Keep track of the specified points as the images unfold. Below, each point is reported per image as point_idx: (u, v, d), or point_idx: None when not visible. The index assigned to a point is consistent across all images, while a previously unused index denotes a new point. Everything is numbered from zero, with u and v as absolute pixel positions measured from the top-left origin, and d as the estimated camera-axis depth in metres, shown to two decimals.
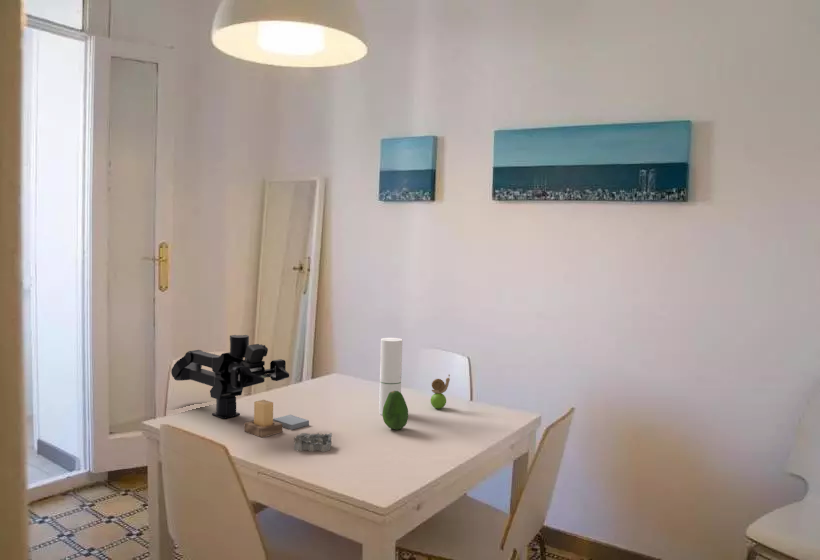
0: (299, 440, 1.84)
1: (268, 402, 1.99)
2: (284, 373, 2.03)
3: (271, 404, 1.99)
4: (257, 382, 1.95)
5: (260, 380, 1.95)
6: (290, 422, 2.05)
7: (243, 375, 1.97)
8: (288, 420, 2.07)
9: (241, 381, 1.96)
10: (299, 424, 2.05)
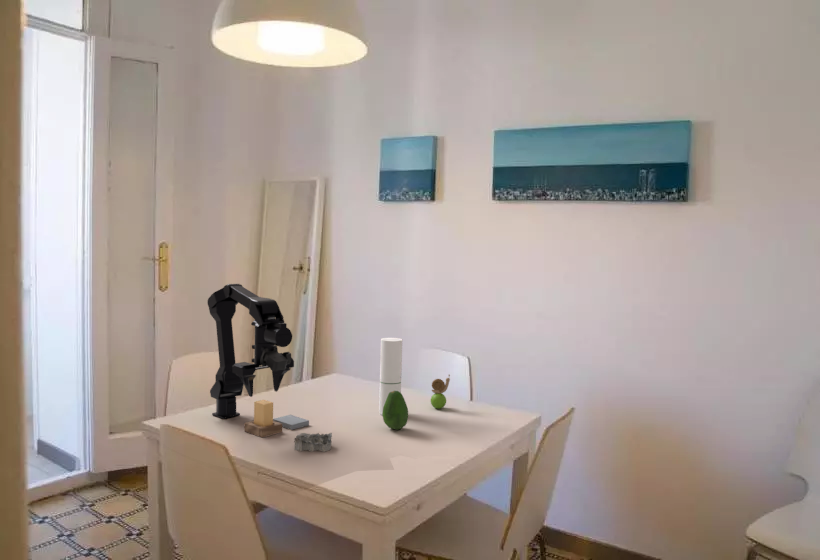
0: (299, 440, 1.84)
1: (268, 402, 1.99)
2: (276, 385, 2.02)
3: (271, 404, 1.99)
4: (247, 389, 1.95)
5: (249, 393, 1.95)
6: (290, 422, 2.05)
7: None
8: (288, 420, 2.07)
9: None
10: (299, 424, 2.05)
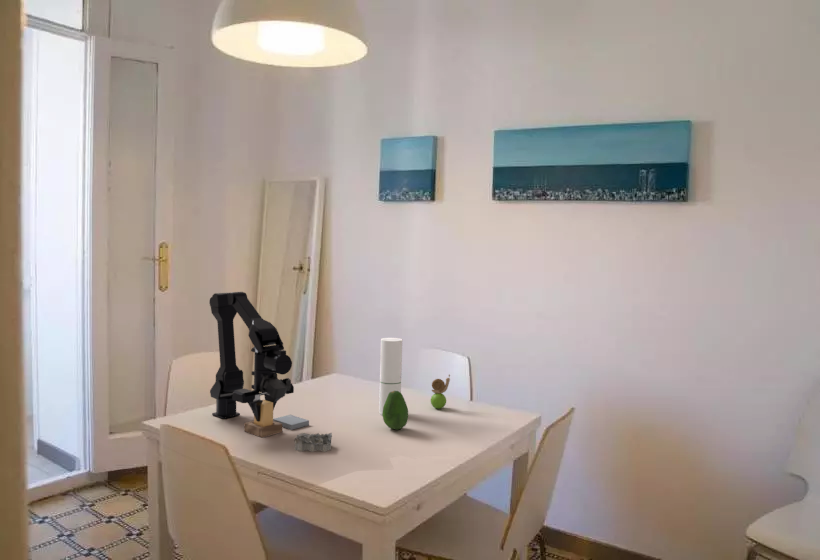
0: (300, 440, 1.84)
1: (268, 402, 1.99)
2: None
3: (271, 404, 1.99)
4: (254, 414, 1.98)
5: (256, 418, 1.98)
6: (290, 422, 2.05)
7: None
8: (288, 420, 2.07)
9: None
10: (299, 424, 2.05)
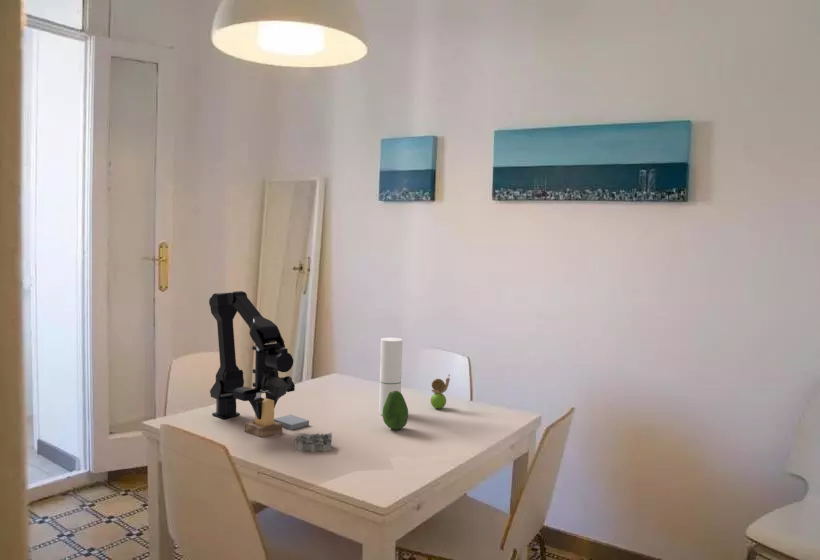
0: (300, 440, 1.84)
1: (269, 400, 1.99)
2: None
3: (272, 402, 1.99)
4: (255, 412, 1.98)
5: (257, 416, 1.98)
6: (290, 422, 2.05)
7: None
8: (288, 420, 2.07)
9: None
10: (299, 424, 2.05)
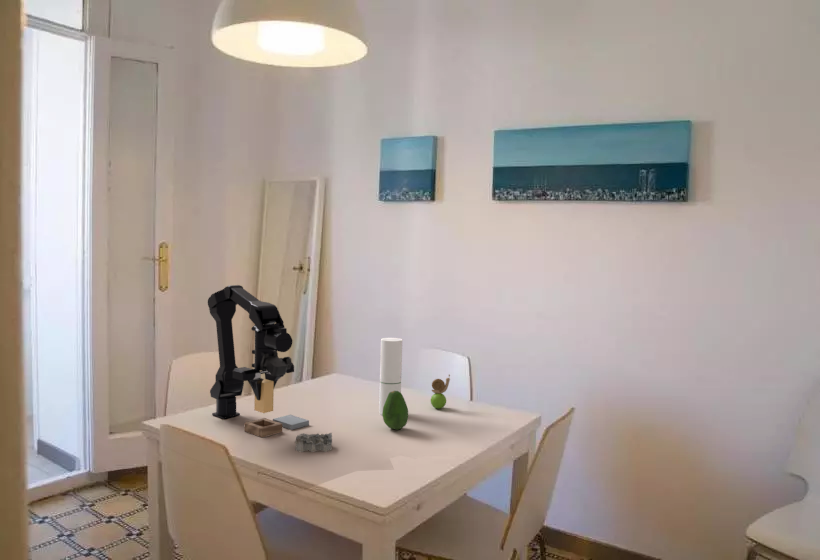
0: (301, 441, 1.84)
1: (268, 381, 1.98)
2: None
3: (271, 383, 1.98)
4: (254, 393, 1.97)
5: (257, 396, 1.97)
6: (290, 422, 2.05)
7: None
8: (288, 420, 2.07)
9: None
10: (299, 424, 2.05)
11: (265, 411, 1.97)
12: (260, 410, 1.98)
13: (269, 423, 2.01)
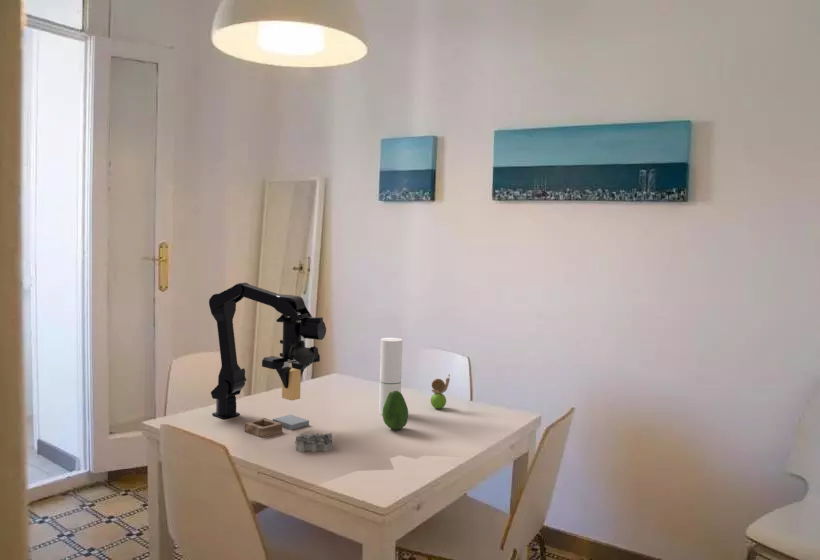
0: (301, 441, 1.83)
1: (296, 369, 2.06)
2: None
3: (299, 371, 2.06)
4: (282, 381, 2.05)
5: (284, 384, 2.05)
6: (290, 422, 2.05)
7: None
8: (288, 420, 2.07)
9: None
10: (299, 424, 2.05)
11: (293, 399, 2.05)
12: (288, 398, 2.05)
13: (269, 423, 2.01)
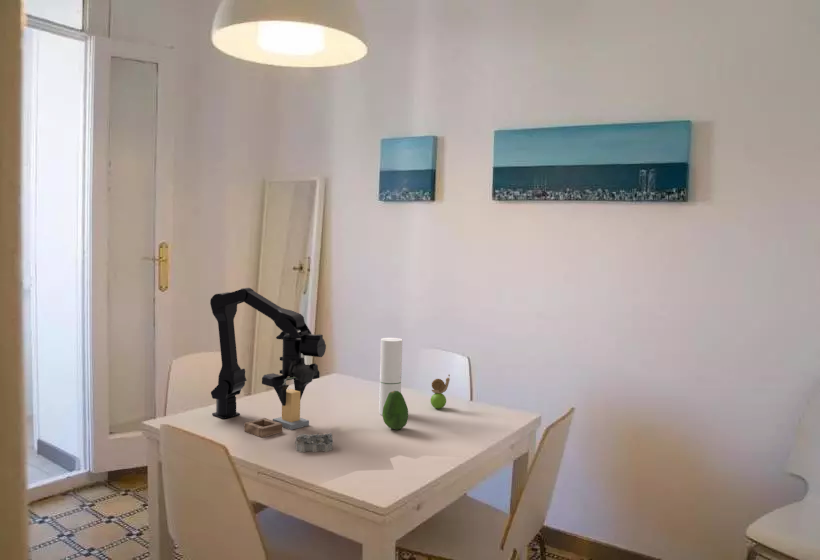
0: (302, 441, 1.83)
1: (295, 391, 2.07)
2: None
3: (298, 393, 2.07)
4: (280, 398, 2.05)
5: (282, 402, 2.05)
6: (290, 422, 2.05)
7: None
8: None
9: None
10: (299, 424, 2.05)
11: (292, 420, 2.05)
12: (287, 419, 2.06)
13: (269, 423, 2.01)
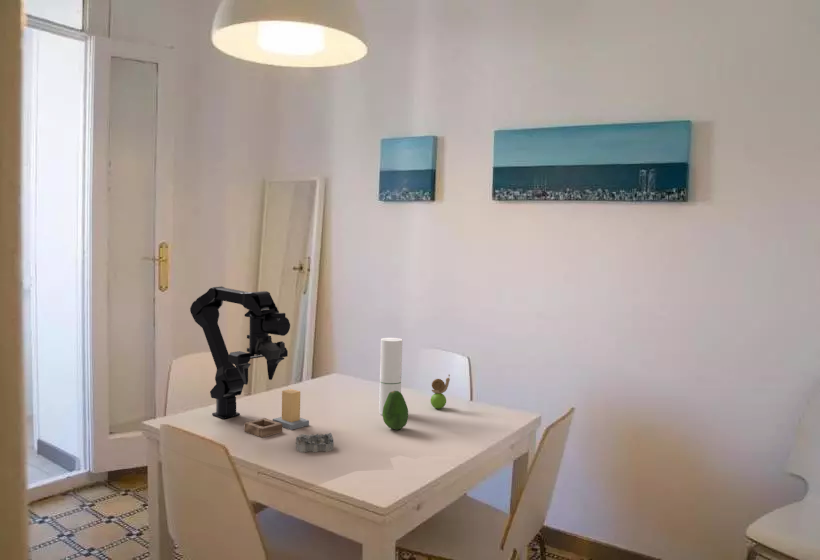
0: (302, 441, 1.83)
1: (295, 391, 2.07)
2: (270, 374, 2.10)
3: (298, 393, 2.07)
4: (242, 377, 2.03)
5: (244, 381, 2.03)
6: (290, 422, 2.05)
7: None
8: None
9: None
10: (299, 424, 2.05)
11: (292, 420, 2.05)
12: (287, 419, 2.06)
13: (269, 423, 2.01)
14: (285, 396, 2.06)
